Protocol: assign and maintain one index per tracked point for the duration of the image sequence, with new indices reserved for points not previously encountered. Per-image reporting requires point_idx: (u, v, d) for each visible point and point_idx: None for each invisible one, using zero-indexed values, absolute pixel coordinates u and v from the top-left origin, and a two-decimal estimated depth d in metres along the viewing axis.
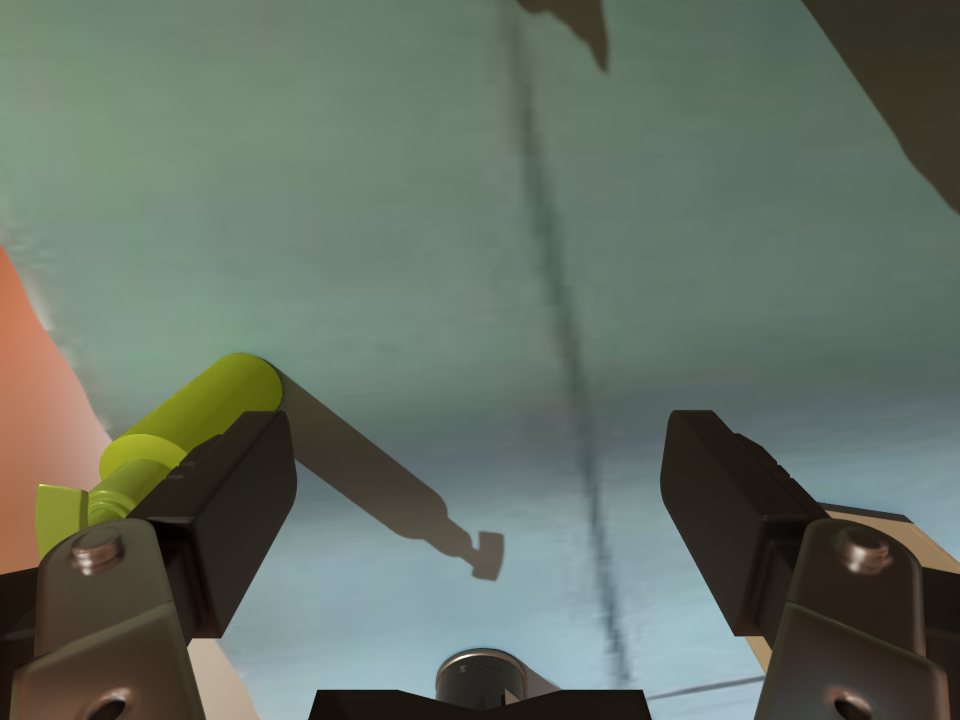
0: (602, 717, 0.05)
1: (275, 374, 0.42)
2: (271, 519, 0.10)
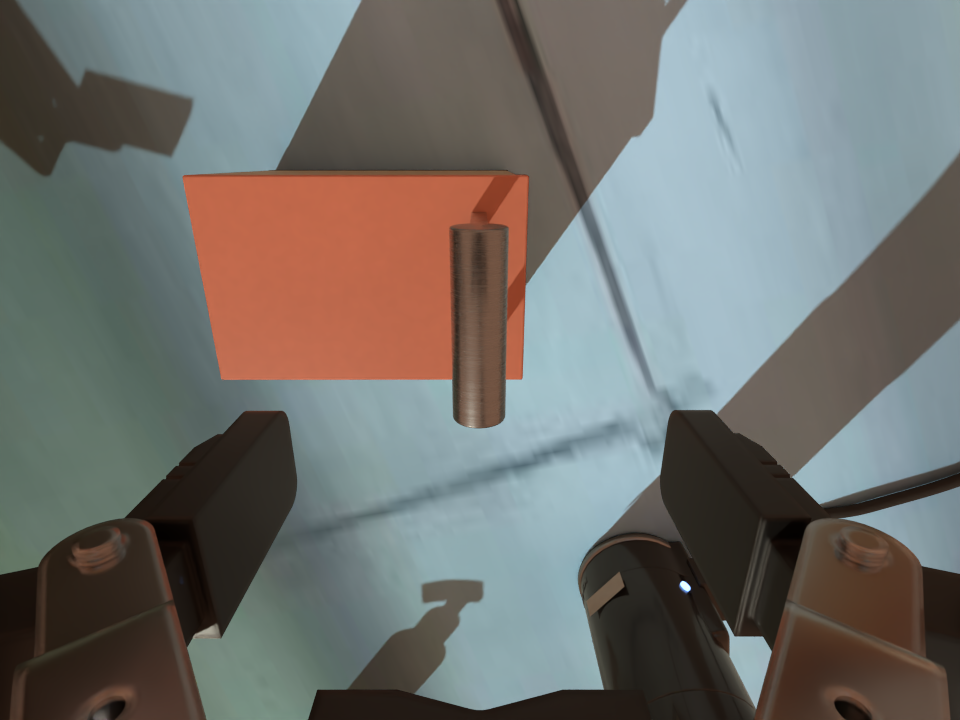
0: (602, 718, 0.05)
1: None
2: (271, 520, 0.10)
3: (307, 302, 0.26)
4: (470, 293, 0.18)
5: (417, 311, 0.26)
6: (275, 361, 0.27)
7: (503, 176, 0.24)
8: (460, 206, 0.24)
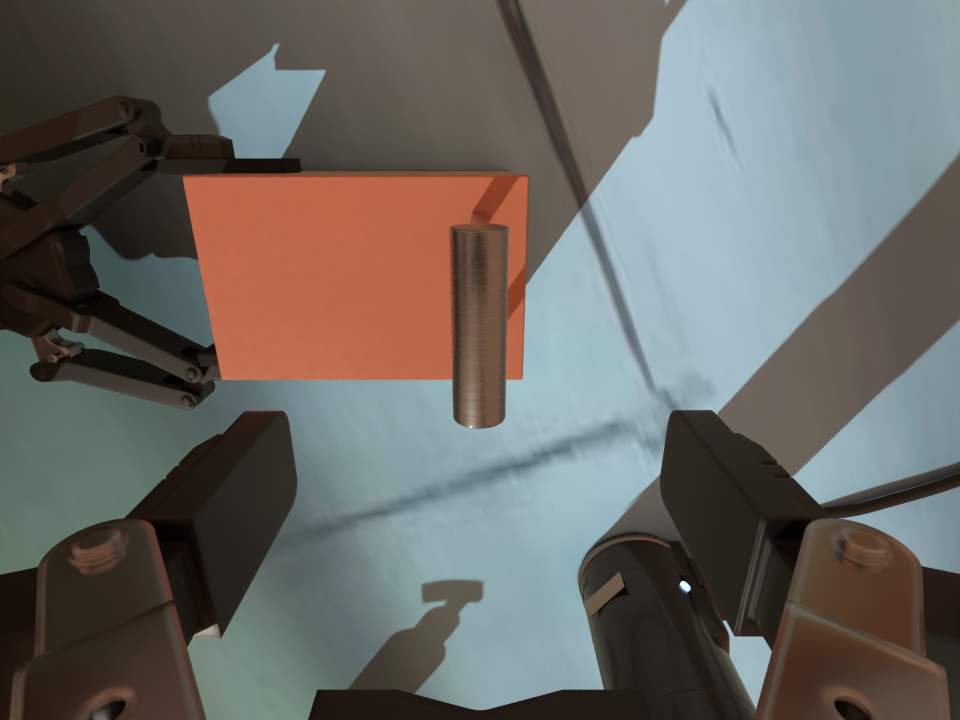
0: (602, 718, 0.05)
1: None
2: (271, 520, 0.10)
3: (307, 302, 0.26)
4: (470, 293, 0.18)
5: (417, 312, 0.26)
6: (275, 361, 0.27)
7: (503, 176, 0.24)
8: (460, 206, 0.24)
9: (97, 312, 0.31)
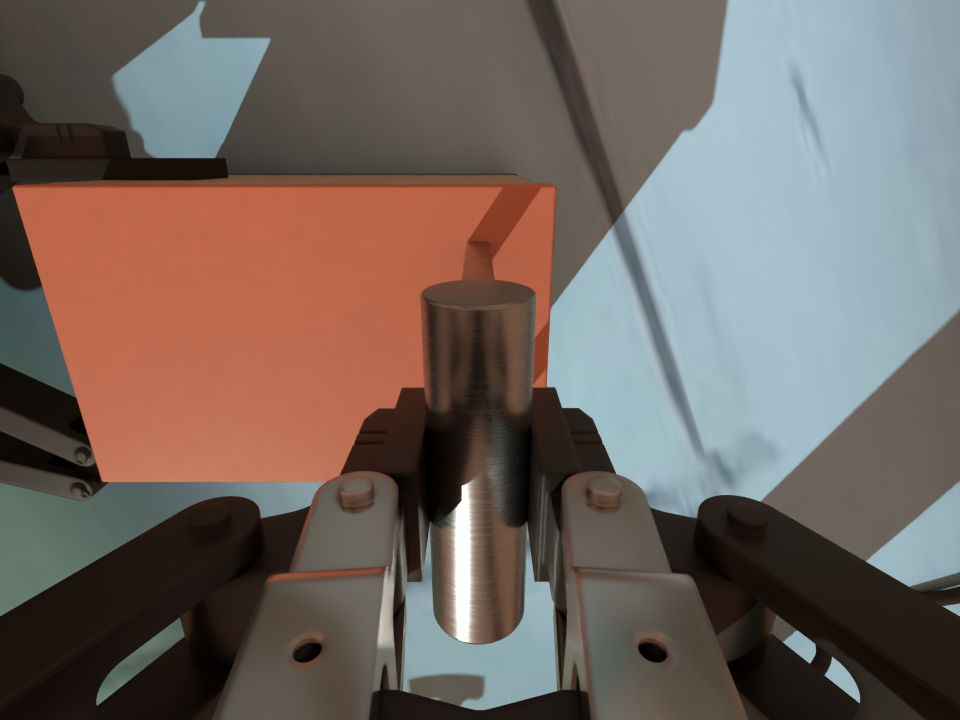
0: None
1: None
2: None
3: (220, 375, 0.17)
4: (461, 423, 0.09)
5: (386, 388, 0.17)
6: (178, 457, 0.18)
7: (516, 187, 0.15)
8: (449, 233, 0.16)
9: None
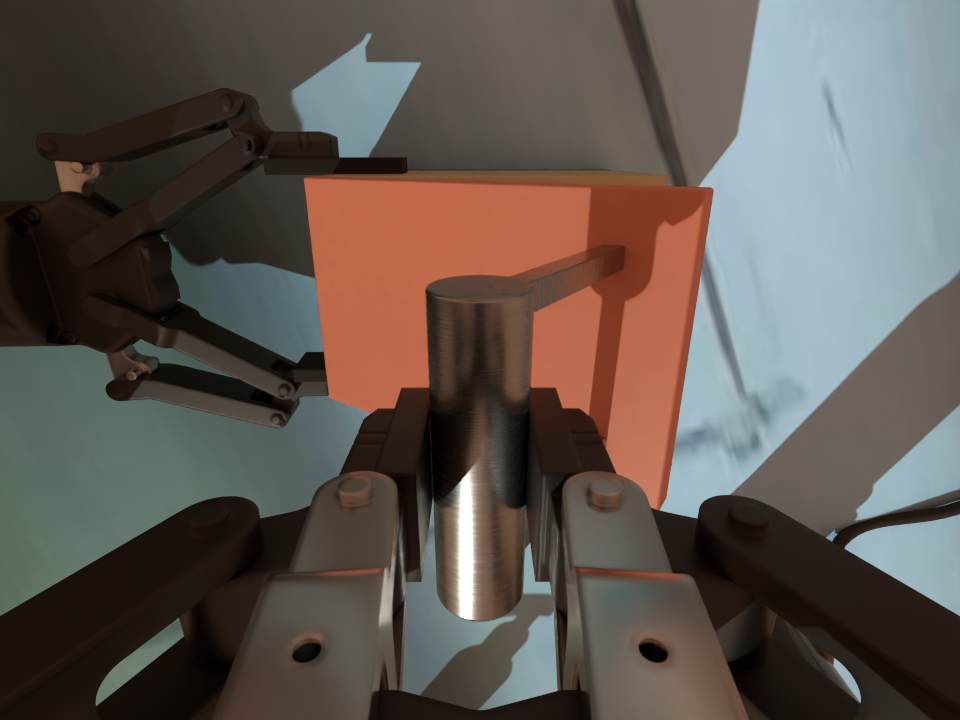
0: None
1: None
2: (431, 485, 0.11)
3: (401, 334, 0.21)
4: (438, 402, 0.10)
5: None
6: (371, 393, 0.23)
7: (660, 189, 0.14)
8: (587, 234, 0.15)
9: (182, 325, 0.28)
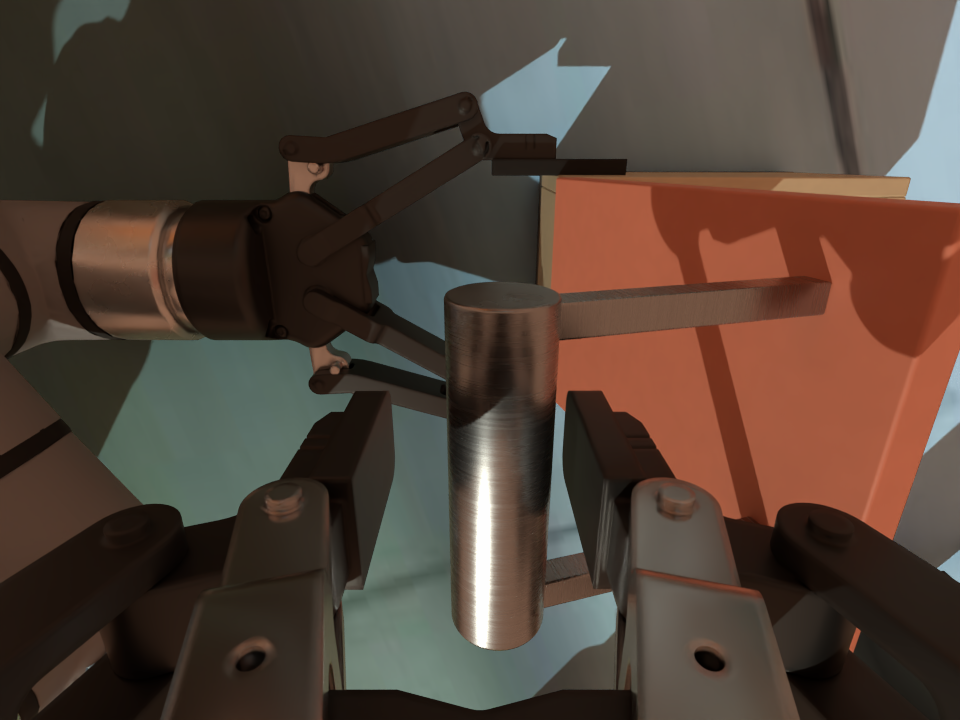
0: (602, 717, 0.05)
1: None
2: (383, 489, 0.11)
3: (601, 345, 0.20)
4: (447, 403, 0.10)
5: (689, 418, 0.15)
6: None
7: (894, 205, 0.09)
8: (787, 260, 0.12)
9: (387, 321, 0.29)
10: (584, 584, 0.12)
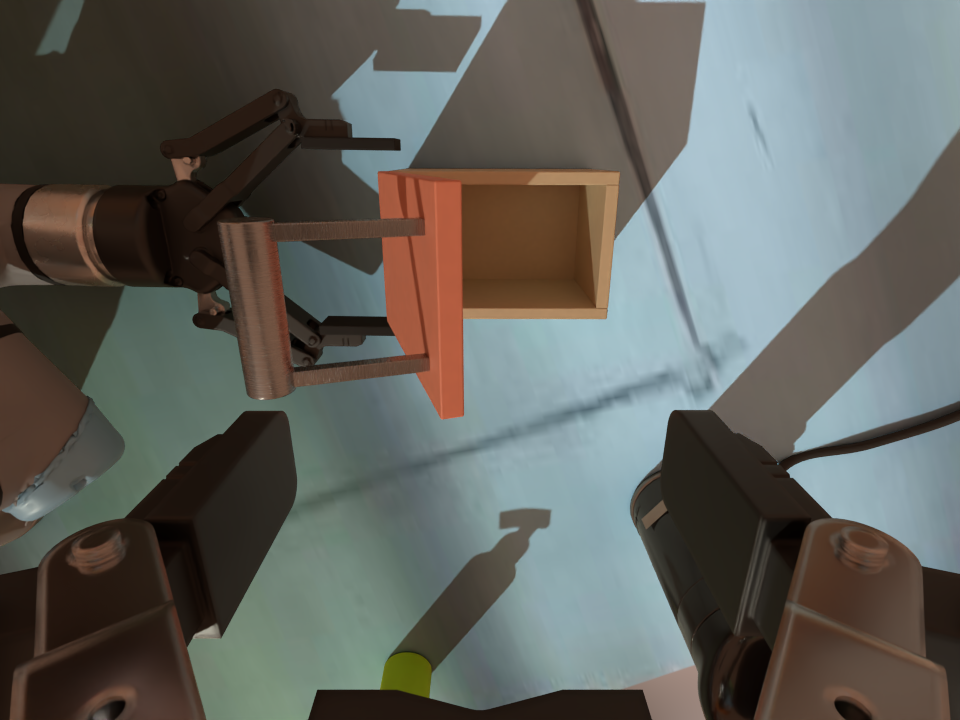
0: (601, 717, 0.05)
1: (393, 657, 0.64)
2: (270, 520, 0.10)
3: (395, 278, 0.31)
4: None
5: (413, 309, 0.27)
6: (393, 319, 0.34)
7: (428, 180, 0.21)
8: (418, 210, 0.23)
9: None
10: (316, 375, 0.23)
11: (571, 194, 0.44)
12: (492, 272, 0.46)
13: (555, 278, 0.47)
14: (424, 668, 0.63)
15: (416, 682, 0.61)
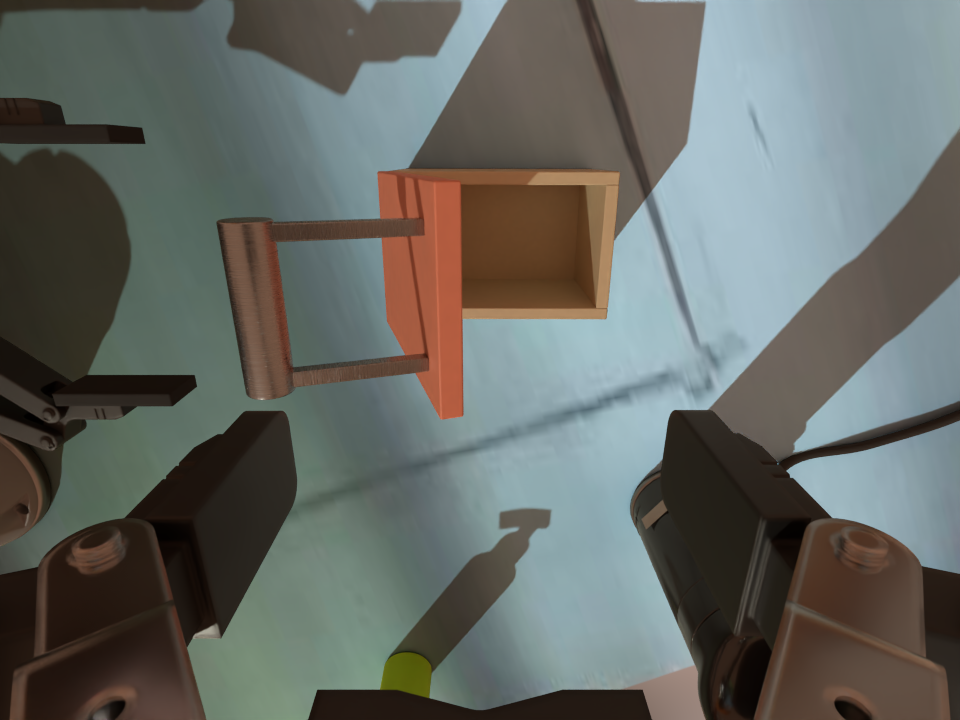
0: (601, 717, 0.05)
1: (393, 657, 0.64)
2: (270, 520, 0.10)
3: (395, 278, 0.31)
4: None
5: (413, 309, 0.27)
6: (392, 319, 0.34)
7: (428, 180, 0.21)
8: (418, 210, 0.23)
9: None
10: (315, 375, 0.23)
11: (571, 194, 0.44)
12: (492, 272, 0.46)
13: (555, 278, 0.47)
14: (424, 668, 0.63)
15: (416, 682, 0.61)
